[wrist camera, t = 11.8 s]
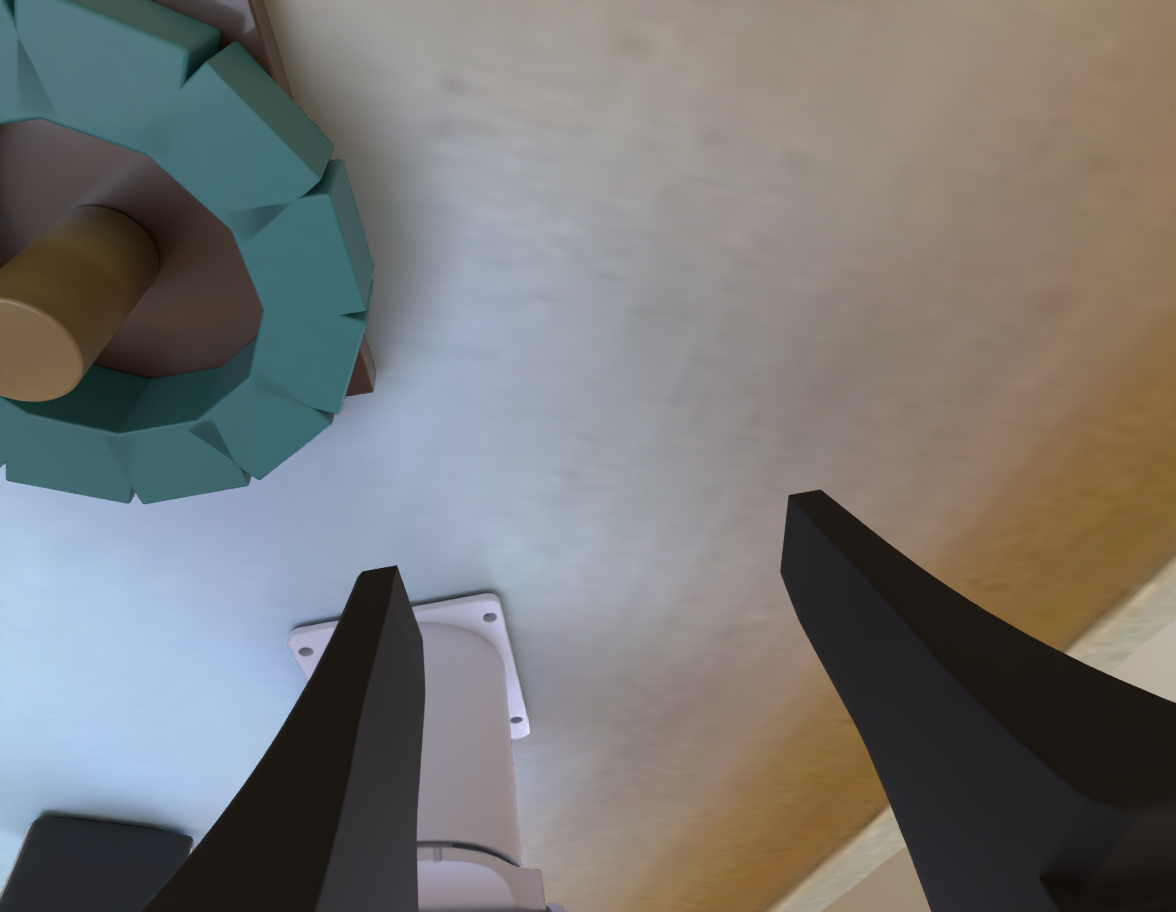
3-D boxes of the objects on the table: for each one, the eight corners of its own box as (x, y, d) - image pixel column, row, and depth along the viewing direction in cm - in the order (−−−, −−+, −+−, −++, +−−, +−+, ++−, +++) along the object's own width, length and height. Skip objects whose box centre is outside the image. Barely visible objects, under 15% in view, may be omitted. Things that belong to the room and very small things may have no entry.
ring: (414, 404, 21) (412, 457, 19) (16, 472, 21) (-30, 535, 19) (277, -65, 14) (251, -59, 12) (-330, 12, 14) (-463, 32, 12)
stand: (376, 371, 22) (360, 507, 17) (28, 427, 21) (-95, 585, 16) (255, -27, 16) (175, 6, 11) (-245, 30, 15) (-572, 93, 10)
